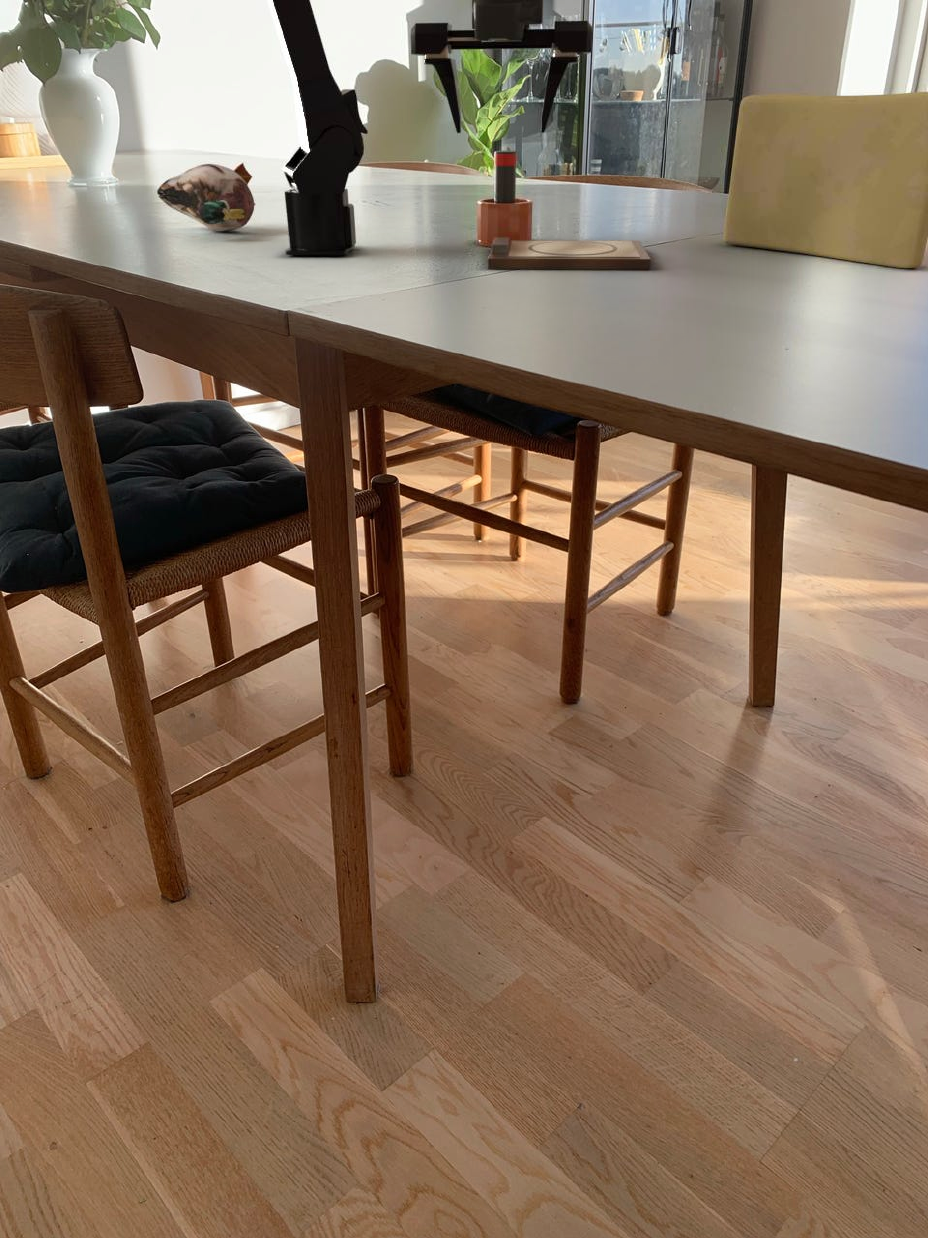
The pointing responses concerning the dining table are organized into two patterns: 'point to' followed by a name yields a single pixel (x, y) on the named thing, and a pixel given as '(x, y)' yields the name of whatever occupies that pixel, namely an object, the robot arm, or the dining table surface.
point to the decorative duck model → (211, 196)
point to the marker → (505, 176)
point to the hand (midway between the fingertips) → (500, 132)
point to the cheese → (832, 176)
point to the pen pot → (504, 220)
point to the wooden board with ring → (568, 255)
